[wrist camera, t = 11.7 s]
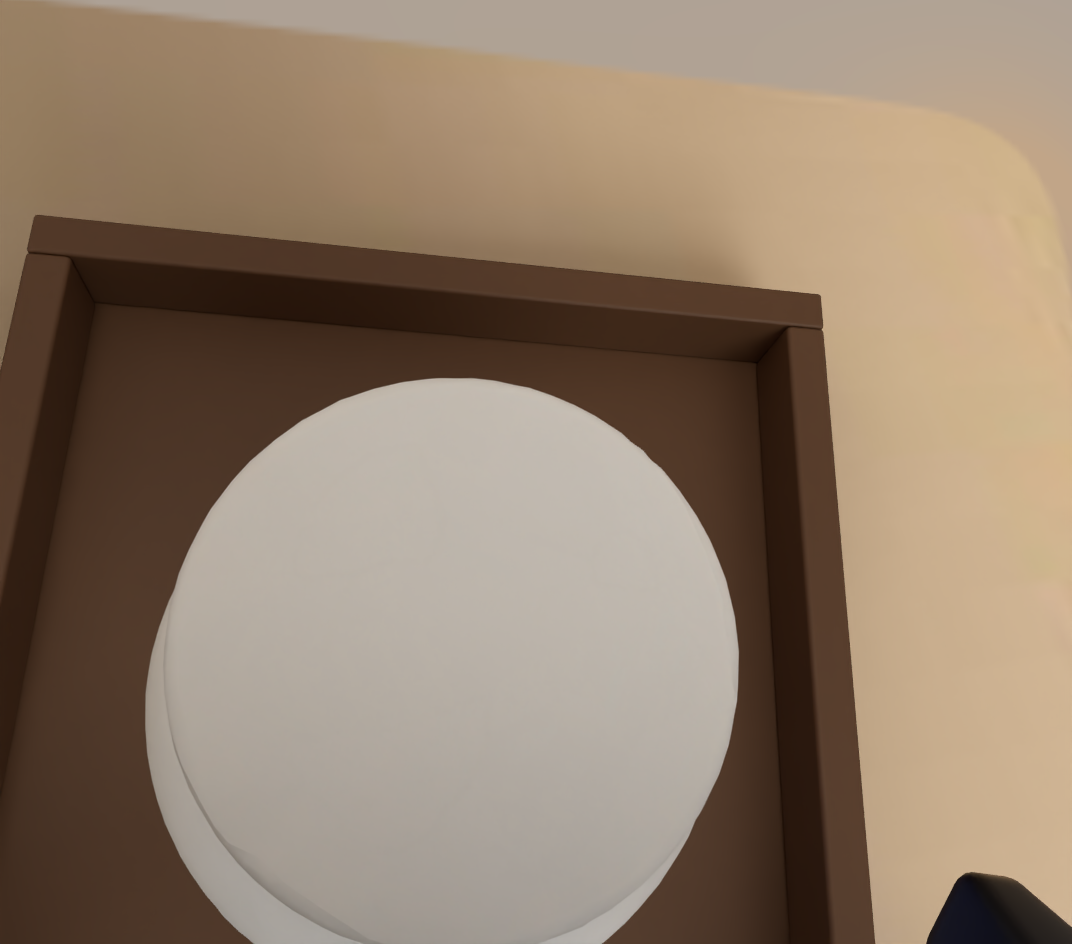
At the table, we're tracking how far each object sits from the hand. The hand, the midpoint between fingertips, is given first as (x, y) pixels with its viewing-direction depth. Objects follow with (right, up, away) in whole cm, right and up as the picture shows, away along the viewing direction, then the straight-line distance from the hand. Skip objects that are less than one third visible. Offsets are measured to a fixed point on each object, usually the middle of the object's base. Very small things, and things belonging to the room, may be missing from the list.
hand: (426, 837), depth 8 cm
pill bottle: (-1, -1, +8) cm, 8 cm away
